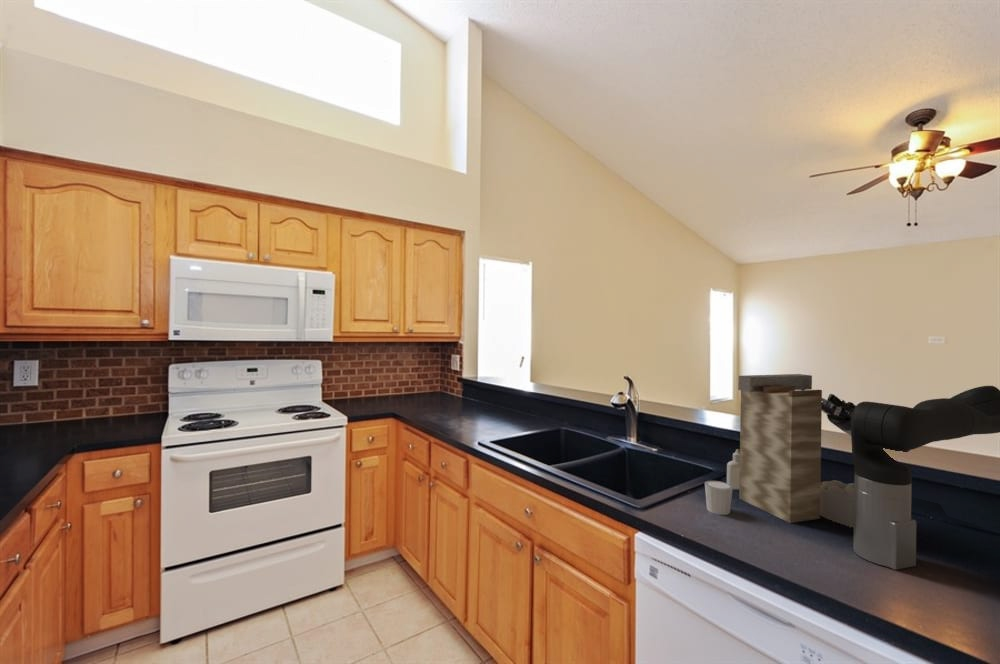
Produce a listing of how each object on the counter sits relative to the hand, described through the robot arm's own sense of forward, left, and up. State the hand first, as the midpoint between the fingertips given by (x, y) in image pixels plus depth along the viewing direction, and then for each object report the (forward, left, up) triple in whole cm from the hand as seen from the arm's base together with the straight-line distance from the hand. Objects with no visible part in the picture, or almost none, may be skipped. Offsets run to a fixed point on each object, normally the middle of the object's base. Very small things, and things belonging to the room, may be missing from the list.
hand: (815, 394), depth 127 cm
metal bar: (0, +15, +2) cm, 15 cm away
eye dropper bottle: (+11, +17, -30) cm, 37 cm away
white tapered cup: (-1, +35, -30) cm, 47 cm away
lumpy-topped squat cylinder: (-13, +6, -30) cm, 34 cm away
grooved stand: (-4, +18, -30) cm, 36 cm away
